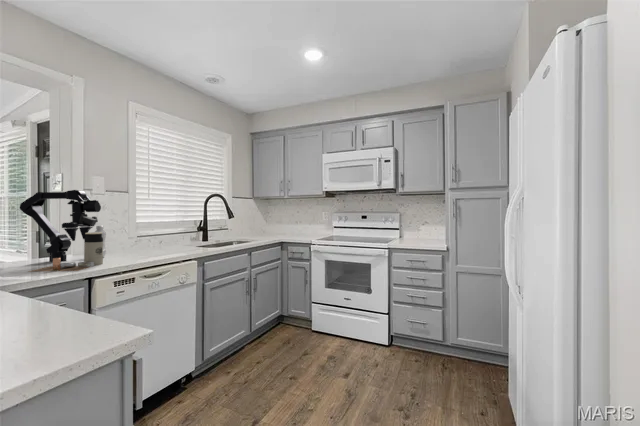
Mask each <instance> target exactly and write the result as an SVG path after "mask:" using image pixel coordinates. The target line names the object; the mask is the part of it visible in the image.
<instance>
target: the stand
mask: <svg viewBox="0 0 640 426" xmlns="http://www.w3.org/2000/svg"><path fill="white" fill-rule="evenodd" d="M92 267H95V265H94V262H84V261H79V262H77V265H76V267H70V268H64V269H61V270H53V265H51V266H44V267H41V268H36V269H33V270H29V271H27V273H28V272H30V273H31V272H39V273H41V272H43V273H44V272H79V271H82V270H86V269H89V268H92Z"/></svg>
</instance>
